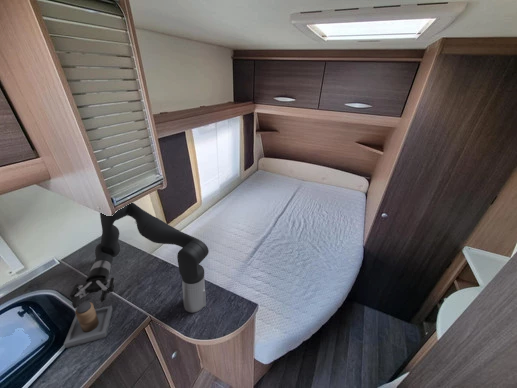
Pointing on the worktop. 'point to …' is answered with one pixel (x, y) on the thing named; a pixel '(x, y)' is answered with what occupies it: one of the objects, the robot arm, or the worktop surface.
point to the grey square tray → (100, 331)
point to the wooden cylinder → (87, 316)
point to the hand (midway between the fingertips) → (88, 303)
